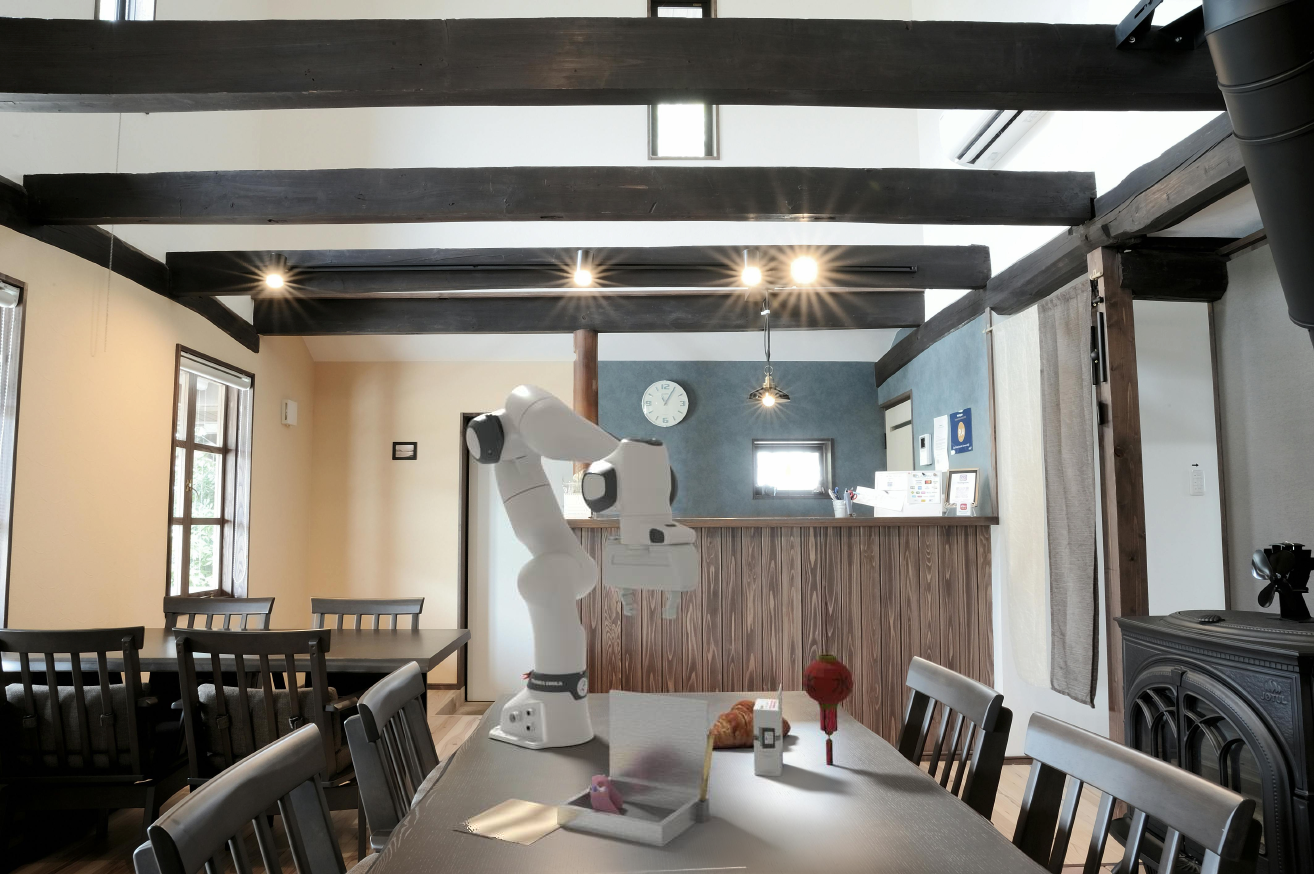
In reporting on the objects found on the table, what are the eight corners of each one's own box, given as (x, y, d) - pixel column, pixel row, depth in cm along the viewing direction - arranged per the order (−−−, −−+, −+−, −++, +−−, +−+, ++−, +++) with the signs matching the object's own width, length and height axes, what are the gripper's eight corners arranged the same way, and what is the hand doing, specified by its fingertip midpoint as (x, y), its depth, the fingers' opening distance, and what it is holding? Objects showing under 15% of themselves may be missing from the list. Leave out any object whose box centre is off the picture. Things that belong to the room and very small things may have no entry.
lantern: (794, 759, 158) (791, 600, 161) (835, 753, 162) (832, 597, 164) (823, 774, 150) (819, 605, 152) (866, 767, 153) (861, 602, 156)
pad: (452, 832, 124) (452, 827, 124) (511, 802, 137) (511, 797, 137) (527, 851, 118) (527, 845, 118) (582, 817, 130) (582, 812, 130)
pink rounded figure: (597, 813, 133) (585, 770, 134) (624, 805, 134) (613, 762, 134) (596, 838, 123) (583, 792, 124) (625, 829, 124) (613, 783, 124)
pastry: (776, 755, 162) (775, 713, 162) (700, 748, 167) (700, 708, 167) (791, 733, 178) (790, 694, 178) (721, 727, 183) (721, 690, 183)
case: (557, 828, 126) (557, 710, 127) (612, 795, 140) (612, 689, 141) (669, 853, 116) (668, 725, 118) (717, 815, 130) (715, 701, 132)
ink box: (757, 760, 158) (756, 681, 159) (783, 762, 157) (782, 682, 158) (753, 775, 150) (752, 691, 151) (781, 777, 149) (779, 692, 150)
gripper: (592, 534, 145) (594, 614, 143) (675, 533, 130) (679, 623, 129) (619, 532, 149) (622, 610, 148) (703, 531, 134) (706, 618, 133)
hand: (649, 616), depth 138 cm, fingers open, 8 cm apart
